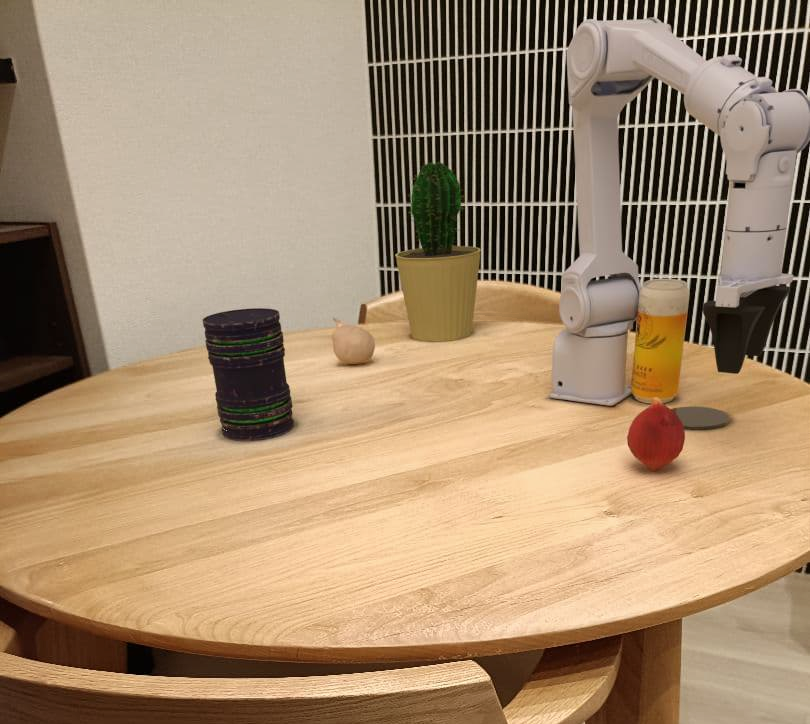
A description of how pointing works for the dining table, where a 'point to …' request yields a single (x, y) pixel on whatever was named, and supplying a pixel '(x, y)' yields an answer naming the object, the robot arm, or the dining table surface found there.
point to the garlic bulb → (352, 343)
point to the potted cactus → (438, 261)
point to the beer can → (659, 339)
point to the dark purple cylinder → (249, 373)
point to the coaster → (701, 417)
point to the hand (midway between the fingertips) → (740, 363)
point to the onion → (656, 436)
